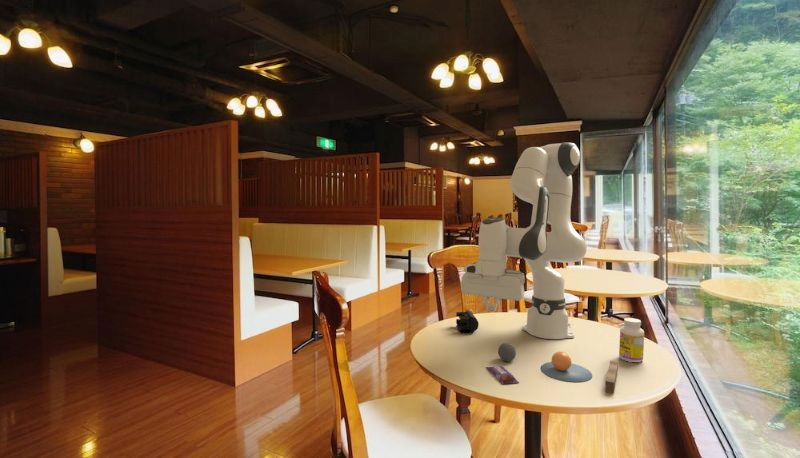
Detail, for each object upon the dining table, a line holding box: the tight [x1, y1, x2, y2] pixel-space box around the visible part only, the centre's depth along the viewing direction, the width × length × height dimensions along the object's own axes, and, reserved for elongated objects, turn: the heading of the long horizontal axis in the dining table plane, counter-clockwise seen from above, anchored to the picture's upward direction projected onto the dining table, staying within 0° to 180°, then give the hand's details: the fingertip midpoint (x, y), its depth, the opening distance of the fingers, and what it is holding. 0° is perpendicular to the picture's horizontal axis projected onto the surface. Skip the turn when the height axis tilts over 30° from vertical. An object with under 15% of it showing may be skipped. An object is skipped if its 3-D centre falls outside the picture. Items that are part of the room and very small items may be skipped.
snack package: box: [485, 365, 520, 385], centre depth 114 cm, size 12×2×5 cm
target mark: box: [540, 361, 593, 383], centre depth 117 cm, size 14×14×1 cm
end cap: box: [455, 309, 480, 335], centre depth 156 cm, size 10×7×7 cm
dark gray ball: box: [497, 342, 517, 362], centre depth 125 cm, size 6×6×6 cm
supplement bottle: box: [618, 317, 645, 363], centre depth 126 cm, size 7×7×13 cm
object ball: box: [551, 351, 572, 371], centre depth 118 cm, size 6×6×6 cm
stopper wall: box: [604, 360, 619, 394], centre depth 111 cm, size 16×2×3 cm, turn 148°
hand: (491, 310), depth 128 cm, fingers closed
